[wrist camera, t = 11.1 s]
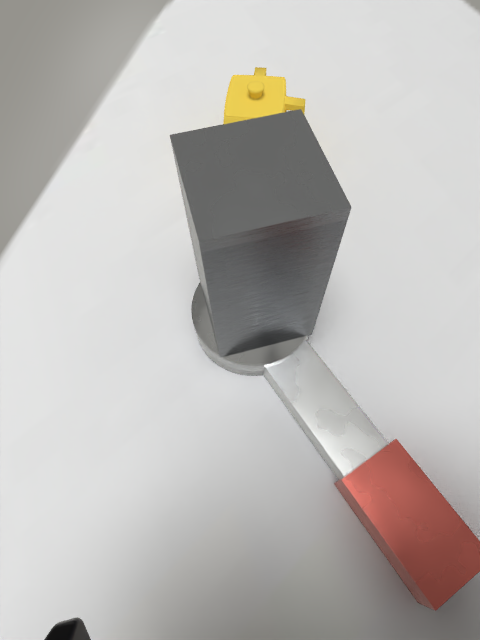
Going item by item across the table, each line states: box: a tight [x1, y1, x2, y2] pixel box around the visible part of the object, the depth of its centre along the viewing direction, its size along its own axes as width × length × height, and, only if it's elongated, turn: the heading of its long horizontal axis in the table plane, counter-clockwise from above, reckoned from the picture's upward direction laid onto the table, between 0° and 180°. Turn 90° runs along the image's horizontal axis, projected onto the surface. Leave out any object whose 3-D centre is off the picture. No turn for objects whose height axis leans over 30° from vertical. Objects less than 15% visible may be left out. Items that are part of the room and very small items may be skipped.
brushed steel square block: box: [170, 109, 351, 358], centre depth 19 cm, size 5×5×10 cm
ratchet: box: [192, 283, 480, 611], centre depth 21 cm, size 20×7×4 cm, turn 33°
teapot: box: [224, 67, 305, 124], centre depth 30 cm, size 8×6×5 cm
